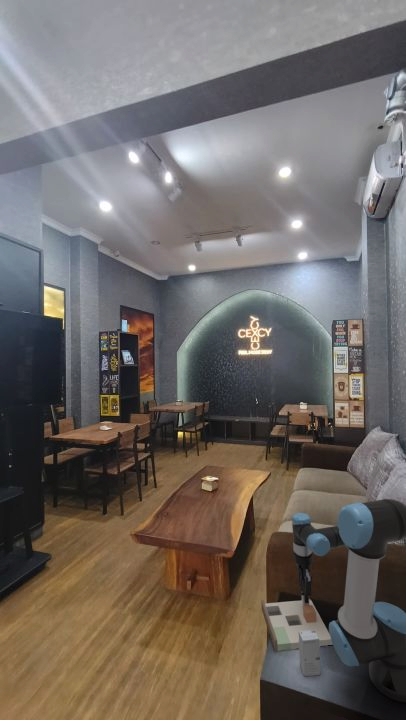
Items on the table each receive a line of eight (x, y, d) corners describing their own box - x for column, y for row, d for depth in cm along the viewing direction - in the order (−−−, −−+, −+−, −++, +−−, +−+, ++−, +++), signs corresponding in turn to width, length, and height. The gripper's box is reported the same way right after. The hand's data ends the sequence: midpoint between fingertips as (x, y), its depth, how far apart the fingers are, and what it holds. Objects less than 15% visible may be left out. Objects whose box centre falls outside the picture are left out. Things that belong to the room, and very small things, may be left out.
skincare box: (304, 677, 117) (302, 641, 118) (299, 665, 122) (297, 631, 122) (321, 674, 118) (319, 639, 118) (316, 663, 122) (314, 629, 123)
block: (316, 621, 139) (316, 611, 139) (306, 622, 138) (306, 612, 138) (312, 614, 143) (312, 605, 143) (303, 615, 142) (302, 605, 142)
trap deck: (332, 645, 130) (332, 635, 130) (275, 651, 128) (274, 640, 128) (310, 605, 152) (310, 596, 152) (261, 609, 150) (261, 600, 150)
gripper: (317, 559, 139) (320, 619, 139) (306, 543, 152) (309, 597, 152) (299, 561, 139) (302, 620, 138) (289, 544, 152) (292, 599, 151)
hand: (305, 608), depth 145 cm, fingers closed
